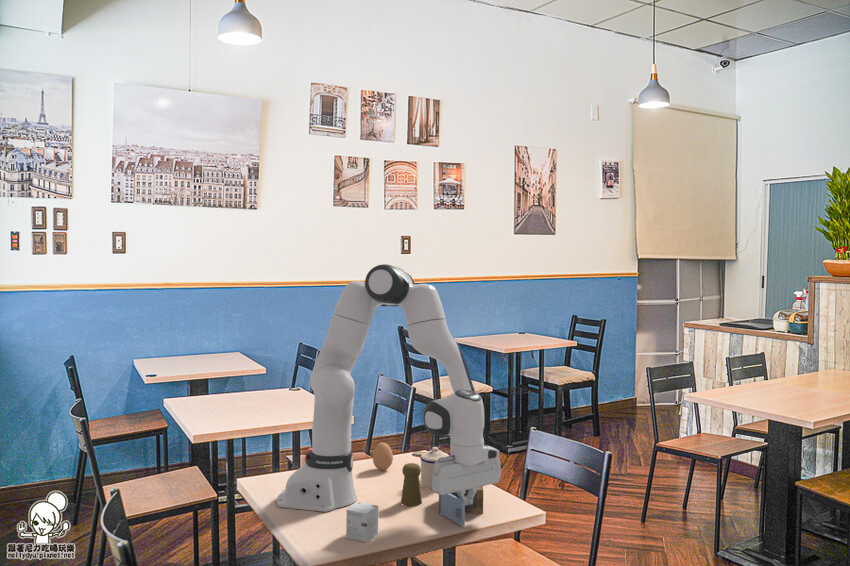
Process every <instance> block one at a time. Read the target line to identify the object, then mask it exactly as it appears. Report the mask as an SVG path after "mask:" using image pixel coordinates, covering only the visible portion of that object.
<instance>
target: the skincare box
mask: <svg viewBox="0 0 850 566" xmlns="http://www.w3.org/2000/svg"><path fill="white" fill-rule="evenodd" d="M345 529H346V531H345V534H346V536H345V538H346V539H350V540H355V541H359V542H364V543H368V542H369V541H370V540H371V539H373V538H374V537H375V536H377V535H378V534H379V505H377V504H372V503H367V502H361V501H357V502H356V503H354V504H353V505H351V506H350V507H348V508H347V509H346V527H345Z"/></svg>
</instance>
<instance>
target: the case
mask: <svg viewBox="0 0 850 566" xmlns="http://www.w3.org/2000/svg"><path fill="white" fill-rule="evenodd" d="M468 492H469V490H468V489H467V490H465V494H464V496H465V497H467V495H468ZM450 494H452V495H454V496H456V497H458V498H460V497H459V496H458V494H457V492H454V493H450ZM465 514H484V486H481V487H477V491H476V493H475V496H474V498H473V504H471V505H466V506H465Z"/></svg>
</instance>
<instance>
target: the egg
mask: <svg viewBox="0 0 850 566" xmlns="http://www.w3.org/2000/svg"><path fill="white" fill-rule="evenodd" d="M393 454H394V453H393V451H392V449H391V447H390V445H389V444H388V443H386V442H382V441H381V442H379V443H378V444H376V446H375V447H374V450H373V453H372V463H373V465H374V466H375V468H376V469H377V470H379V471H381V472H382V471H383V472H384V471H387V470H388V469H389V468H390V467H391V466H392V464H393V461H394V460H393V459H394V455H393Z"/></svg>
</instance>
